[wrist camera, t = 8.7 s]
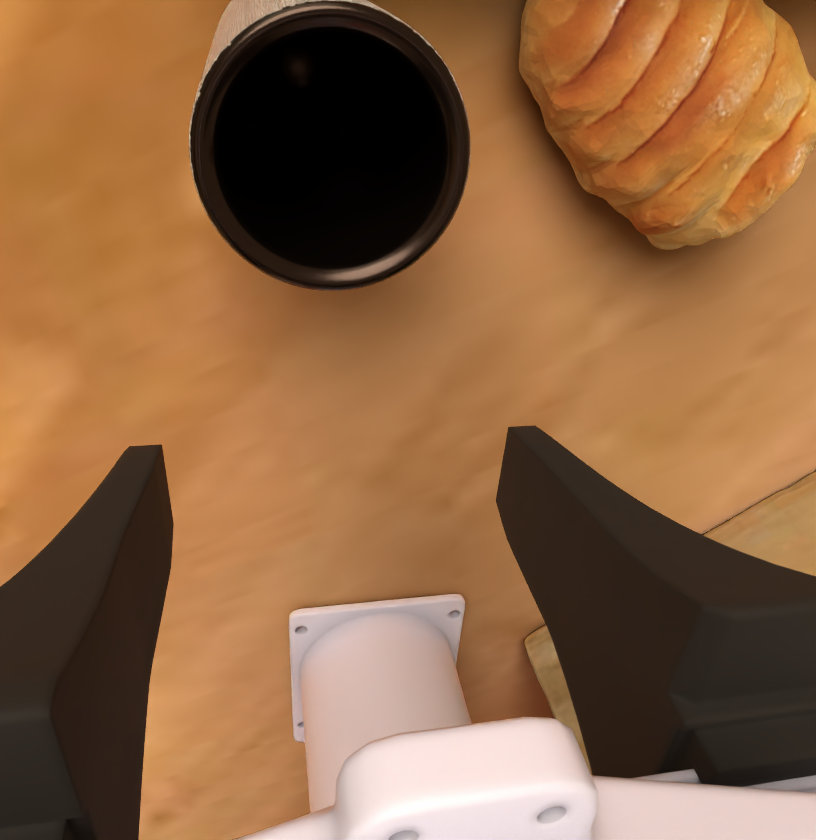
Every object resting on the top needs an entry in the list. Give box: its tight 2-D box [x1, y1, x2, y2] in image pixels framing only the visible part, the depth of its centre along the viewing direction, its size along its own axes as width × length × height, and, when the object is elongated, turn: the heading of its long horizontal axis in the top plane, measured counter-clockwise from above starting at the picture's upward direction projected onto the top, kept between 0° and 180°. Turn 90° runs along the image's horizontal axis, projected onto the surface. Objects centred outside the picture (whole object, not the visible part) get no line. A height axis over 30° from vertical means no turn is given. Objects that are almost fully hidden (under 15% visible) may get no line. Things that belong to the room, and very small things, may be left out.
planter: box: [189, 0, 471, 291], centre depth 16 cm, size 4×4×10 cm
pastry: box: [519, 0, 816, 250], centre depth 20 cm, size 9×7×4 cm
